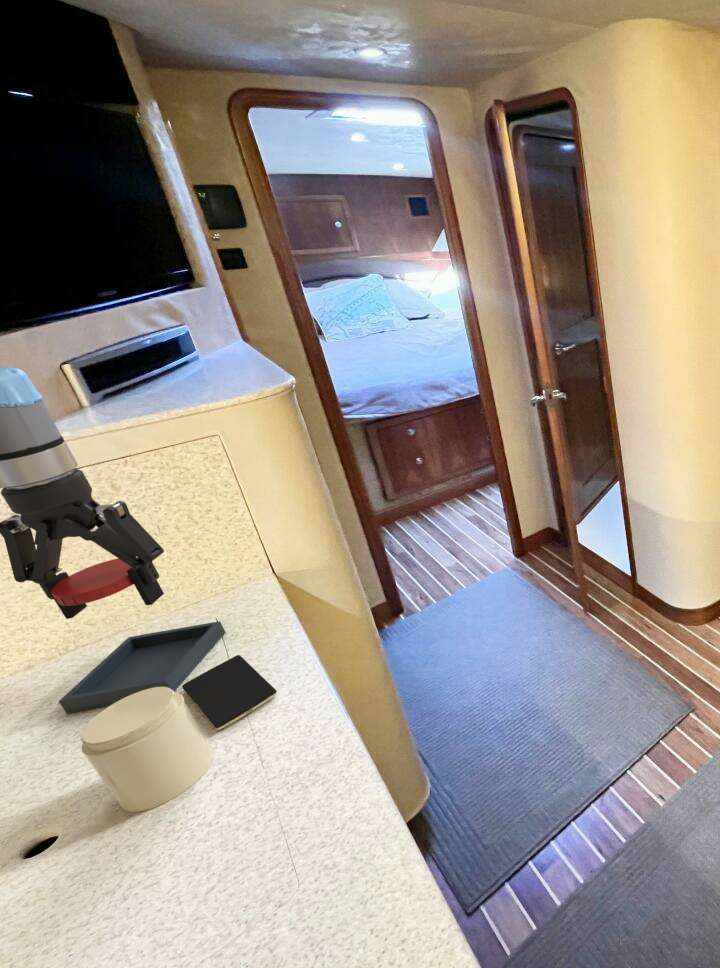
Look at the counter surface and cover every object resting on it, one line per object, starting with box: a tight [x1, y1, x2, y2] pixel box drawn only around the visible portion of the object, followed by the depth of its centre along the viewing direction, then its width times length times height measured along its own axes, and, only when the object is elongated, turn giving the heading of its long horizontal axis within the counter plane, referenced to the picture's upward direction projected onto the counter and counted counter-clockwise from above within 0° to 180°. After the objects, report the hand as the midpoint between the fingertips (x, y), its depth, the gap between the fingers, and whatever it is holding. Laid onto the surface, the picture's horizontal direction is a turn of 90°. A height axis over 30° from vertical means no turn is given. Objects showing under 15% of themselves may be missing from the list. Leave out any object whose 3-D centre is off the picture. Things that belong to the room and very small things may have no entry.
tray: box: [58, 620, 227, 715], centre depth 87 cm, size 14×14×3 cm
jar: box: [80, 687, 215, 813], centre depth 68 cm, size 9×9×12 cm
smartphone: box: [182, 654, 278, 731], centre depth 82 cm, size 7×1×15 cm
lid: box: [51, 556, 138, 606], centre depth 81 cm, size 10×10×2 cm
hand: (116, 605), depth 83 cm, fingers closed on lid, 9 cm apart
